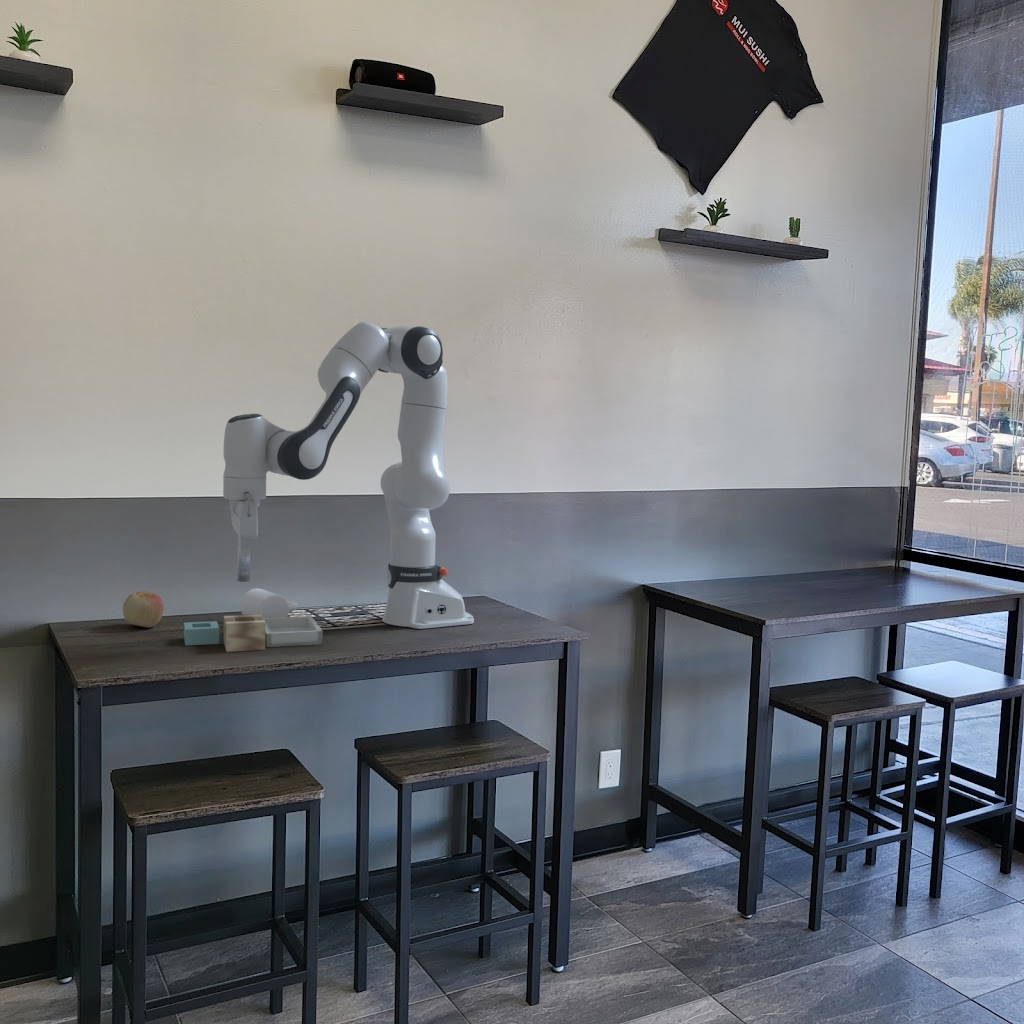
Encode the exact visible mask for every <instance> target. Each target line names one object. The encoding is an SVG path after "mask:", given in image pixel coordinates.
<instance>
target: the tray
mask: <svg viewBox="0 0 1024 1024" xmlns="http://www.w3.org/2000/svg"><path fill="white" fill-rule="evenodd" d="M263 619H264V620H265V648H276V647H280V648H281V647H282V648H283V647H299V646H301V645H302V646H313V645H314V646H317V645H320V646H321V645H323V630H322V628H321V627H320V626H319V624H318V623H317V622H316V620H315V619H314V618H313V616H311V615H310V616H309V615H303V616H288V617H279V618H263Z"/></svg>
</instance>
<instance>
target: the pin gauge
mask: <svg viewBox="0 0 1024 1024" xmlns="http://www.w3.org/2000/svg"><path fill="white" fill-rule="evenodd" d="M236 570H237V574H236V575H237V576H236V577H237V579H236V580H237V582H239V583H240V582H241V583H244V582H247V583H248V582H250V581H251V555H250V556H248V557H243V556H242V555H241V538H240V537H239V535H238V534H237V569H236Z"/></svg>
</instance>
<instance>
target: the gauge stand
mask: <svg viewBox="0 0 1024 1024" xmlns="http://www.w3.org/2000/svg"><path fill="white" fill-rule="evenodd" d="M183 634H184V635H183V639H184V644H185V645H184V646H199V645H201V646H202V645H219V644H220V626H219V623H218V621H215V620H214V621H191V622H190V621H189V622H184V623H183Z"/></svg>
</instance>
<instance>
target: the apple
mask: <svg viewBox="0 0 1024 1024" xmlns="http://www.w3.org/2000/svg"><path fill="white" fill-rule="evenodd" d="M164 609H165V607H164V602H163V600H162V598H161V597H160V596H159V595H157V594H156V593H153V592H151V591H149V590H148V591H145V590H144V591H138V592H133V593H130V595H128V596H127V597H126V599H125V600H124V602H123V606H122V613H123V618H124V620H125V621H126V622H127V623H128V624H130V625H134V626H138V627H143V628H153V627H156V625H158V624H159V622H160V620H161V619H162V618H163V614H164Z"/></svg>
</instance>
